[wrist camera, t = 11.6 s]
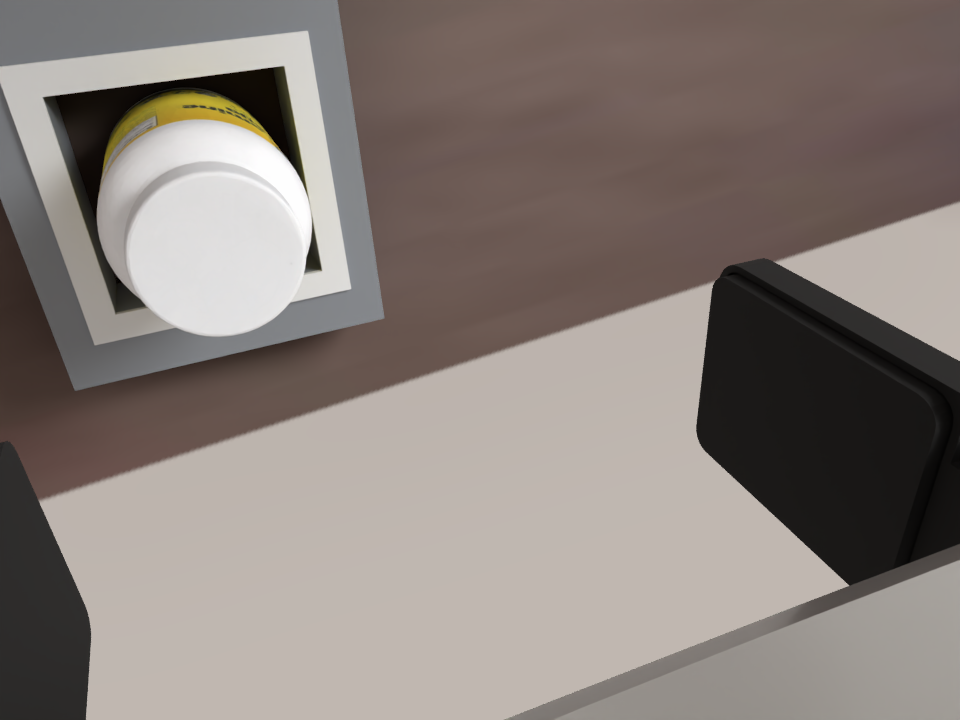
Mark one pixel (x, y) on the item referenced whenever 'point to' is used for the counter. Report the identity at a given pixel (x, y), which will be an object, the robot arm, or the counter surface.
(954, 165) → the counter surface
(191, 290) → the pill bottle
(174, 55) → the socket stand
